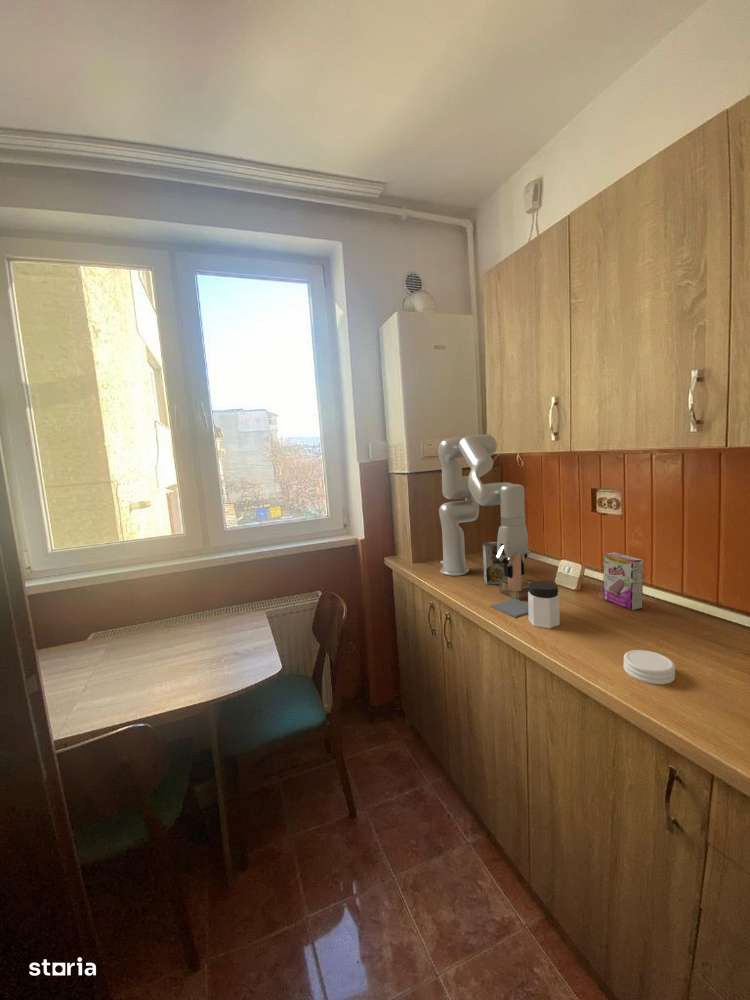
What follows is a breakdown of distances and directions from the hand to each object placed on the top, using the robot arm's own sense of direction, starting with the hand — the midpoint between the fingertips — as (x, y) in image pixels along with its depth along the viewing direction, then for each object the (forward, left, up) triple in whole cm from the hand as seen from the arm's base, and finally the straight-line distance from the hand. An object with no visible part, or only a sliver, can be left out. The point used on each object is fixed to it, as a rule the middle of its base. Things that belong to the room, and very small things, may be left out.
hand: (514, 574), depth 135 cm
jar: (+13, -1, -12) cm, 18 cm away
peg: (0, 0, -5) cm, 5 cm away
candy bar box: (+17, +31, -12) cm, 37 cm away
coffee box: (-24, +14, -12) cm, 30 cm away
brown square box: (-9, +11, -12) cm, 18 cm away
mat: (0, 0, -12) cm, 12 cm away
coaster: (+45, -3, -12) cm, 47 cm away
